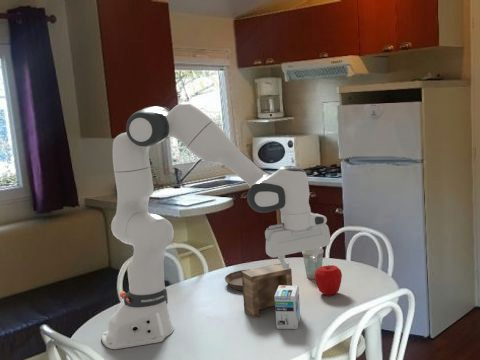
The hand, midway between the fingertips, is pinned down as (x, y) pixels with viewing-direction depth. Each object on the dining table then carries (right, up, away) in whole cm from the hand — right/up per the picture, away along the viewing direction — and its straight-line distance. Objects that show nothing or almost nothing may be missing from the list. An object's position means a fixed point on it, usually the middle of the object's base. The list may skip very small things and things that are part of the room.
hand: (299, 265), depth 172 cm
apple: (+14, -16, +35) cm, 41 cm away
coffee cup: (+11, -13, +56) cm, 58 cm away
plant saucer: (-13, -15, +52) cm, 56 cm away
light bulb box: (-2, -20, +12) cm, 23 cm away
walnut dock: (-8, -19, +24) cm, 32 cm away
